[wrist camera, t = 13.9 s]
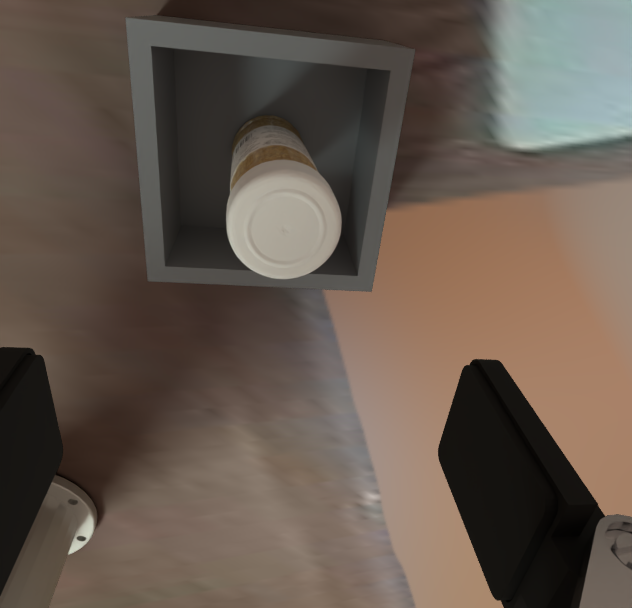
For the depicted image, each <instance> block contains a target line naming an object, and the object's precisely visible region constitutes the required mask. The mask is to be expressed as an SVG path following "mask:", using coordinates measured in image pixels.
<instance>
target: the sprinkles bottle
mask: <svg viewBox="0 0 632 608" xmlns="http://www.w3.org/2000/svg"><path fill="white" fill-rule="evenodd" d="M341 224H342V219H341V212H340V208H339V205H338V202H337V200H336V198H335V196H334V194H333V192H332V190H331V188H330V186H329V184H328V183H327V181H326V180H325V179H324V178H323V177H322V176H321V175H320V174H319V172H318V170H317V168H316V166H315V164H314V162H313V160H312V158H311V156H310V155H309V153H308V151H307V149H306V147H305V145H304V144H303V141H302V139H301V137H300V134H299V132H298V131H297V130H296V129H295V128H294V127H293V126H292V124H290V123H289V122H288V121H286V120H285V119H283V118H280V117H277V116H274V115H272V116H269V115H264V116H259V117H256V118H253V119H251V120H249V121H248V122H246V123H245V124H244V125H243V126H242V127H241V128H240V129H239V131H238V133H237V134H236V135H235V138H234V140H233V145H232V165H231V180H230V196H229V199H228V203H227V211H226V227H227V235H228V239H229V242H230V245H231V247H232V249H233V251H234V253H235V254H236V256H237V257H238V258H239V259H240V261H241V262H242V263H243V264H244V265H246V266H247V267H248V268H250V269H251V270H253V271H254V272H256V273H258V274H261V275H263V276H266V277H270V278H276V279H291V278H297V277H300V276H303V275H306V274H308V273H311V272H312V271H314V270H316V269H317V268H319V267H320V266H321V265H322V264H323V263H324V262H325V261H326V260H327V259H328V258H329V257H330V256H331V254H332V253H333V251H334V250H335V248H336V246H337V244H338V241H339V238H340V234H341Z"/></svg>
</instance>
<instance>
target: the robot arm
mask: <svg viewBox="0 0 632 608" xmlns="http://www.w3.org/2000/svg"><path fill="white" fill-rule="evenodd" d="M62 455H63V445H62V440H61V435H60V431H59V426H58V422H57V417H56V413H55V408H54V403H53V399H52V394H51V390H50V385H49V381H48V376H47V372H46V367H45V362H44V359H43V357H42V356H41V355H35V352H34V351H33V349H31V348H14V347H1V348H0V608H49V605H50V602H51V599H52V597H53V594H54V591H55V588H56V586H57V583H58V580H59V577H60V575H61V572H62V569H63V567H64V564H65V561H66V558H67V556H68V554H71V553H73V552H75V551H77V550H79V549H80V548H82V547H83V546H84V545H85V544H86V543H88V542H89V540H90V539H91V537H92V536H93V533H94V530H95V527H96V524H97V517H98V516H97V511H96V507H95V505H94V503H93V501H92V500H91V499H90V497H89V496H88V495H87V494H86V493H85V492H84V491H83V490H82V489H80V488H79V487H78V486H77V485H75V484H74V483H72V482H70V481H68V480H67V479H65V478H62V477H60V476H57V475H55V474H56V472H57V470H58V467H59V465H60V463H61V460H62ZM438 456H439V461H440V464H441V467H442V469H443V472H444V474H445V477H446V479H447V482H448V484H449V487H450V489H451V492H452V495H453V497H454V500H455V502H456V505H457V507H458V510H459V512H460V515H461V518H462V520H463V523H464V525H465V528H466V530H467V533H468V535H469V538H470V540H471V543H472V545H473V548H474V551H475V553H476V556H477V558H478V561H479V563H480V566H481V568H482V571H483V573H484V576H485V578H486V581H487V584H488V586H489V588H490V591H491V593H492V595H493V597H494V598H495V599H496V600H501V602H502V604H503V607H504V608H632V517H630V516H624V515H619V514H616V515H607V516H605V515H604V514H603V512H602V511H601V509H600V508H599V507H598V504H597V502H596V501H595V499H594V498H593V497H592V495H591V493H590V492H589V491H588V489H587V487H586V486H585V485H584V483H583V482H582V480H581V479H580V477H579V476H578V474H577V473H576V471H575V470H574V468H573V467H572V465H571V464H570V463H569V461H568V460H567V458H566V457H565V455H564V454H563V452H562V451H561V449H560V448H559V446H558V445H557V444H556V442H555V441H554V439H553V438H552V436H551V435H550V433H549V432H548V430H547V429H546V427H545V426H544V424H543V423H542V422H541V420H540V419H539V417H538V416H537V414H536V413H535V411H534V410H533V408H532V407H531V405H530V404H529V403H528V401H527V400H526V398H525V397H524V395H523V394H522V392H521V391H520V389H519V388H518V386H517V385H516V384H515V382H514V381H513V379H512V378H511V376H510V375H509V373H508V372H507V370H506V369H505V368H504V366H503V364H502V363H501V362H500V361H498V360H483V359H475V360H472V362H471V363H470V365H466V366H464V368H463V370H462V373H461V376H460V379H459V383H458V386H457V389H456V392H455V396H454V399H453V402H452V405H451V408H450V412H449V415H448V418H447V421H446V424H445V428H444V431H443V434H442V437H441V441H440V444H439V448H438Z"/></svg>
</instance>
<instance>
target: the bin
mask: <svg viewBox="0 0 632 608" xmlns="http://www.w3.org/2000/svg"><path fill="white" fill-rule="evenodd" d="M126 29H127V41H128V53H129V65H130V77H131V89H132V100H133V112H134V124H135V136H136V148H137V160H138V172H139V184H140V195H141V207H142V219H143V231H144V243H145V255H146V267H147V278H148V281H153V282H174V283H196V284H217V285H239V286H260V287H282V288H303V289H325V290H347V291H369V292H371V291H372V287H373V281H374V276H375V270H376V265H377V259H378V254H379V248H380V243H381V236H382V231H383V226H384V221H385V215H386V209H387V204H388V198H389V193H390V187H391V182H392V176H393V171H394V165H395V160H396V154H397V149H398V143H399V138H400V132H401V126H402V121H403V115H404V110H405V104H406V99H407V93H408V88H409V82H410V77H411V71H412V66H413V60H414V55H415V49H413V48H409V47H406V46H402V45H399V44H395V43H392V42H388V41H385V40H376V39H367V38H358V37H349V36H340V35H331V34H322V33H313V32H304V31H295V30H286V29H277V28H268V27H259V26H250V25H241V24H232V23H223V22H214V21H205V20H196V19H187V18H178V17H169V16H160V15H152V16H139V17H126ZM264 115H269V116H272V115H274V116H277V117H280V118H283V119H285V120H286V121H288V122H289V123H290V124H292V126H293V127H294V128H295V129H296V130H297V131H298V132H299V134H300V137H301V139H302V141H303V144H304V145H305V147H306V149H307V151H308V153H309V155H310V156H311V158H312V160H313V162H314V164H315V166H316V168H317V170H318V172H319V174H320V175H321V176H322V177H323V178H324V179H325V180H326V181H327V183H328V184H329V186H330V188H331V190H332V192H333V194H334V196H335V198H336V200H337V202H338V205H339V208H340V212H341V219H342V224H341V234H340V238H339V241H338V244H337V246H336V248H335V250H334V251H333V253H332V254H331V256H330V257H329V258H328V259H327V260H326V261H325V262H324V263H323V264H322V265H321V266H320V267H319V268H317V269H316V270H314V271H312V272H311V273H308V274H306V275H303V276H300V277H297V278H291V279H276V278H270V277H266V276H263V275H261V274H258V273H256V272H254V271H253V270H251V269H250V268H248V267H247V266H246V265H244V264H243V263H242V262H241V261H240V259H239V258H238V257H237V256H236V254H235V253H234V251H233V249H232V247H231V245H230V242H229V239H228V235H227V227H226V211H227V203H228V199H229V196H230V180H231V165H232V145H233V140H234V138H235V135H236V134H237V133H238V131H239V129H240V128H241V127H242V126H243V125H244V124H245V123H246V122H248V121H249V120H251V119H253V118H256V117H259V116H264Z"/></svg>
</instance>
